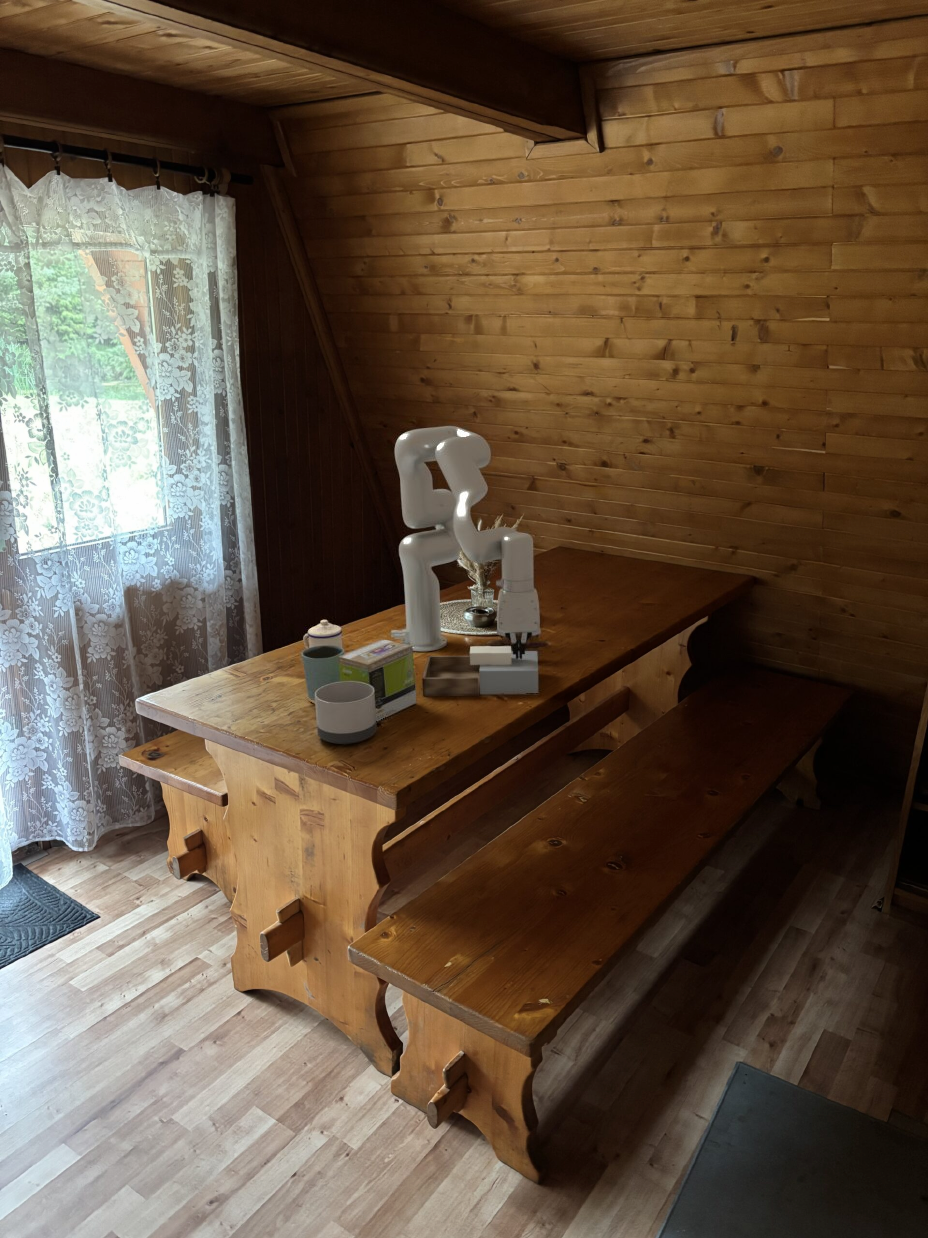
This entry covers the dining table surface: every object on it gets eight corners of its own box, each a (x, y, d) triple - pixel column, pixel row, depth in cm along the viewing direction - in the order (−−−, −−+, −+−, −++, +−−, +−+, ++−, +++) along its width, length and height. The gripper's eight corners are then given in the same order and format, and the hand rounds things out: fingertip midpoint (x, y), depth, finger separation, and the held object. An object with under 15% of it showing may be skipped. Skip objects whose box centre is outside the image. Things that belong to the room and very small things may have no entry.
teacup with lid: (351, 659, 257) (348, 618, 253) (329, 670, 249) (326, 627, 246) (316, 652, 263) (313, 612, 259) (294, 663, 255) (290, 621, 252)
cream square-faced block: (470, 664, 233) (469, 653, 232) (470, 657, 238) (470, 646, 237) (490, 664, 233) (490, 652, 232) (490, 657, 238) (490, 646, 237)
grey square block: (479, 694, 231) (479, 671, 229) (482, 673, 244) (481, 651, 242) (538, 694, 230) (538, 670, 228) (537, 673, 243) (537, 651, 241)
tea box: (386, 695, 232) (383, 637, 228) (417, 704, 226) (414, 645, 221) (341, 715, 221) (337, 654, 217) (372, 725, 215) (368, 663, 210)
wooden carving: (486, 665, 250) (485, 628, 247) (486, 659, 254) (485, 623, 251) (549, 663, 250) (549, 627, 247) (548, 657, 254) (548, 622, 251)
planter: (336, 754, 201) (332, 708, 198) (307, 734, 211) (304, 690, 208) (388, 738, 208) (385, 693, 205) (358, 719, 218) (355, 676, 215)
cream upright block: (490, 664, 233) (490, 653, 232) (490, 657, 237) (490, 646, 236) (511, 664, 232) (511, 652, 232) (511, 657, 237) (510, 646, 236)
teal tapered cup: (308, 708, 225) (304, 660, 221) (302, 693, 234) (298, 647, 231) (350, 703, 228) (347, 655, 224) (343, 688, 237) (340, 642, 233)
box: (422, 696, 231) (422, 678, 229) (429, 672, 246) (428, 656, 244) (478, 695, 230) (478, 678, 228) (481, 672, 245) (480, 655, 244)
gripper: (486, 589, 226) (488, 662, 231) (549, 588, 225) (550, 661, 230) (486, 581, 233) (488, 652, 238) (548, 580, 232) (548, 651, 238)
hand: (518, 656), depth 234 cm, fingers closed
